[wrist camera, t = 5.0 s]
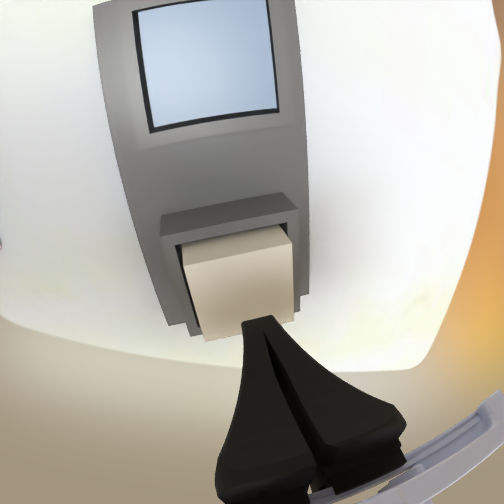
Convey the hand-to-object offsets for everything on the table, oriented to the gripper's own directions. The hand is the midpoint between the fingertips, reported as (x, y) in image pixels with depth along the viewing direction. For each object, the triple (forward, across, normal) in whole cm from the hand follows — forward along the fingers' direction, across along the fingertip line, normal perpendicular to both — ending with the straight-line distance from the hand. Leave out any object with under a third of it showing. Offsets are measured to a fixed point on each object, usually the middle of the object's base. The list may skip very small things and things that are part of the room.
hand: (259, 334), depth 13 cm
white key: (+5, 0, 0) cm, 5 cm away
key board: (+8, 0, -6) cm, 9 cm away
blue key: (+6, 0, -11) cm, 12 cm away
